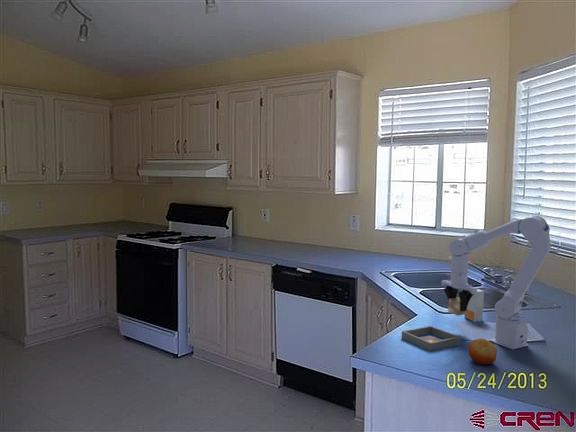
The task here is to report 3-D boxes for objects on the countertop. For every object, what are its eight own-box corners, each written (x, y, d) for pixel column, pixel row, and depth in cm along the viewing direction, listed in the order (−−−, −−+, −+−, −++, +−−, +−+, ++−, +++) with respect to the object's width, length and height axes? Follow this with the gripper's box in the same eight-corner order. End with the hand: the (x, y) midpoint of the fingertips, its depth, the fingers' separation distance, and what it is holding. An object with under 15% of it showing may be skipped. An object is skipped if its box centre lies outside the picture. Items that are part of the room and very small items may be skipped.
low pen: (460, 344, 162) (460, 337, 162) (430, 351, 156) (430, 343, 155) (430, 332, 174) (430, 325, 174) (401, 338, 167) (401, 331, 167)
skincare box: (463, 317, 193) (465, 288, 192) (472, 316, 194) (473, 287, 193) (474, 322, 187) (476, 291, 186) (483, 321, 188) (484, 290, 187)
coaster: (445, 342, 163) (445, 341, 163) (430, 346, 160) (430, 345, 160) (430, 336, 169) (430, 335, 169) (415, 339, 166) (415, 338, 166)
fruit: (486, 351, 152) (493, 334, 148) (495, 372, 146) (503, 355, 141) (461, 351, 152) (467, 334, 147) (469, 372, 146) (475, 355, 141)
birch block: (466, 313, 173) (467, 300, 173) (458, 315, 171) (458, 301, 171) (457, 310, 177) (457, 297, 177) (448, 312, 175) (448, 298, 175)
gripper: (483, 274, 169) (482, 312, 170) (451, 267, 181) (450, 303, 182) (469, 276, 165) (468, 315, 166) (437, 269, 178) (436, 305, 179)
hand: (457, 309), depth 174 cm, fingers closed on birch block, 4 cm apart
